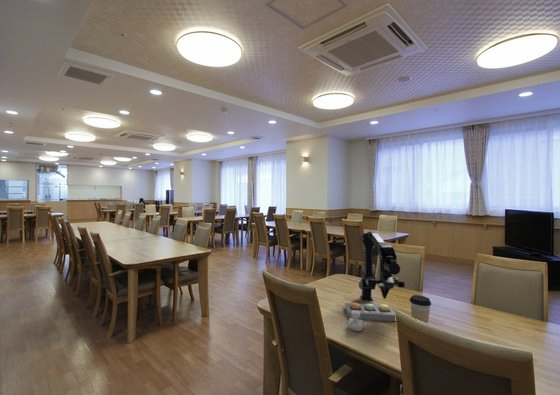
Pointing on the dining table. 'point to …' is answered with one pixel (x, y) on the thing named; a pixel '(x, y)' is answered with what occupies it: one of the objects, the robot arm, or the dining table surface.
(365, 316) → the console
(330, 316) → the dining table surface
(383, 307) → the button mustard
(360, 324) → the stamp
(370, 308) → the button sage
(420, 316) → the coffee cup
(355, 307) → the button terracotta
